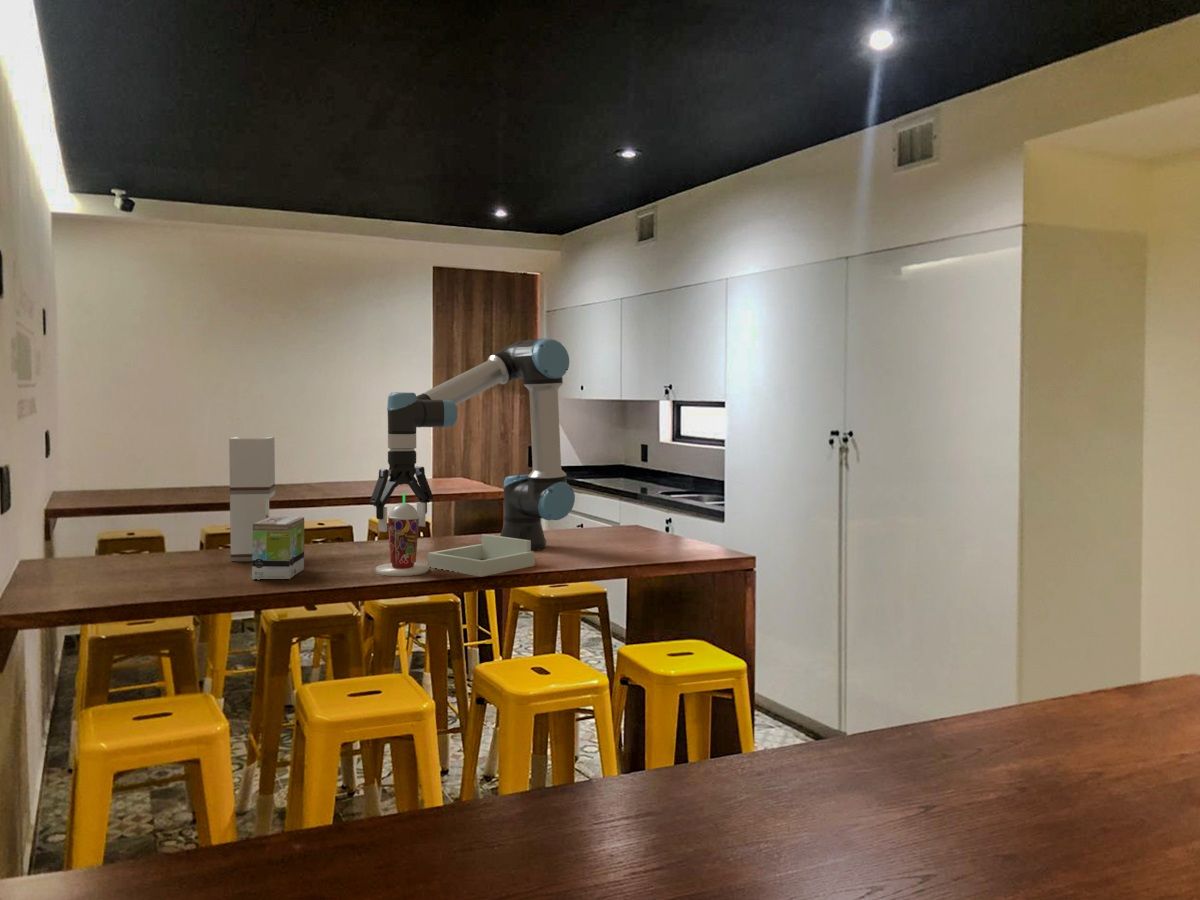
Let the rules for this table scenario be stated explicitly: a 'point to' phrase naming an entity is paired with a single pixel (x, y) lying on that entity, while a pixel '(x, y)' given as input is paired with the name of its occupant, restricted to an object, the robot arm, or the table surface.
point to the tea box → (278, 548)
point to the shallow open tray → (485, 556)
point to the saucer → (402, 570)
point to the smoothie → (403, 535)
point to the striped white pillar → (249, 490)
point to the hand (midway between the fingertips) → (402, 528)
